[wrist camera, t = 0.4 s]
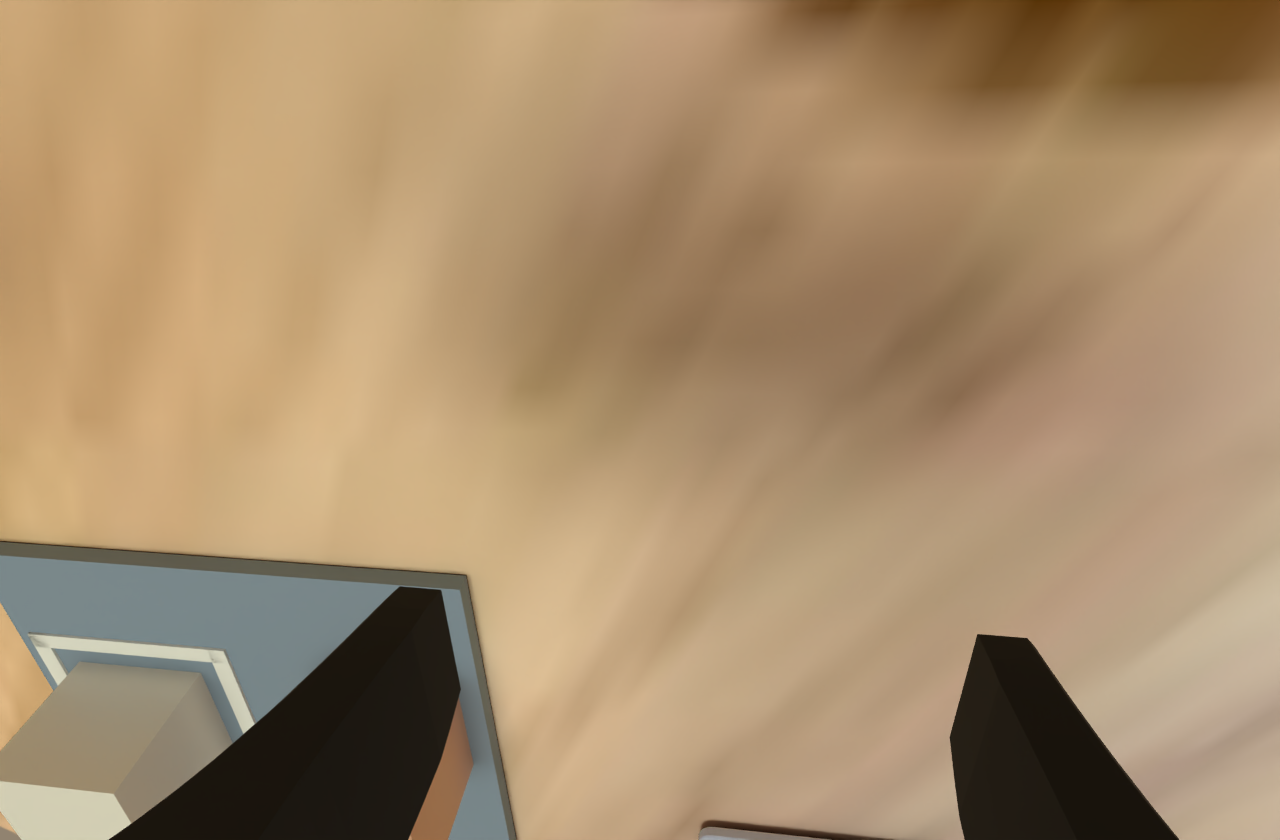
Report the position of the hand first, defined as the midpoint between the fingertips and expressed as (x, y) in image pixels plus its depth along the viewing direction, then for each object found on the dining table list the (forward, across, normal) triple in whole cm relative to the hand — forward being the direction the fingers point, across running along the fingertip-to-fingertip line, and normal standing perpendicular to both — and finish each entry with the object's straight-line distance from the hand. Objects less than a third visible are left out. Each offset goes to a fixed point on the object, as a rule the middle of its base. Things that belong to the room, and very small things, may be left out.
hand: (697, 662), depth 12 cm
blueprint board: (+10, +16, +15) cm, 24 cm away
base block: (+9, +20, +15) cm, 26 cm away
